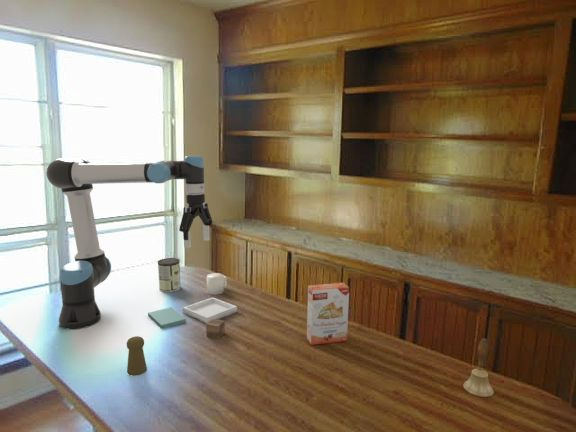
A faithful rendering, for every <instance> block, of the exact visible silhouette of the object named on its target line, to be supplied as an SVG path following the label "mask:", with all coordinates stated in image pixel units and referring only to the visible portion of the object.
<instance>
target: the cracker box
mask: <svg viewBox="0 0 576 432" xmlns="http://www.w3.org/2000/svg"><path fill="white" fill-rule="evenodd" d="M349 302H350V287H349V286H348V285H346V284H345V282H334V283H324V284H323V283H321V284H309V285H307V313H306V314H307V317H306V318H307V321H306V339H307V341H308V342H309V344H310V345H311V346H313V345H314V346H315V345H316V346H317V345H322V344H323V345H324V344H329V343H330V344H332V343H338V342H339V343H340V342H347V341H348V328H349V327H348V324H349V323H348V322H349V321H348V320H349V305H350V303H349Z"/></svg>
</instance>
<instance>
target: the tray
mask: <svg viewBox="0 0 576 432" xmlns="http://www.w3.org/2000/svg"><path fill="white" fill-rule="evenodd" d="M235 313H238V306H237V305H234V304H232V303H229V302H227V301H223V300H221V299H219V298H215V297H213V296H212V297H209V298H206V299H203V300H201V301H197V302H195V303H192V304H190V305H186V306H184V307H182V314H184V315H186V316H188V317H191V318H194V319H195V320H197V319H198V321H200V322H202V323H205V324H207V323H208V322H210V321H211V320H212V319H217V320H222V319H223V318H225V317H227V316H230V315H233V314H235Z"/></svg>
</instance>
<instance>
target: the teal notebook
mask: <svg viewBox="0 0 576 432" xmlns="http://www.w3.org/2000/svg"><path fill="white" fill-rule="evenodd" d="M147 317H148V318H149V319H150V320H151V321H153V322H154V323H155V324H156V325H157V327H159V328H160V329H161V330H162V329H166V328H169V327H174V326H178V325H180V324H181V323H182V324H185V323H186V322H187V319H186V318H185V317H184V316H183V315H182V314H180V313H179V312H178V311H176V309H174V308H172V307H166V308H162V309H159V310H153V311H150V312H147Z"/></svg>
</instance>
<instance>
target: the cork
mask: <svg viewBox="0 0 576 432" xmlns="http://www.w3.org/2000/svg"><path fill="white" fill-rule="evenodd" d="M144 345H145V340H144V338H143V337H142V336H139V335H138V336H132V337H130V338H128V340H127V341H126V348H127V349H128V353H127V354H128V357H127V358H128V359H127V366H126V367H127V368H126V369H127V370H126V373H128V374H129V375H128V374H127V375H128V376H131V375H132V376H133V377H137V376H141V375H144V374H145V373H146V372H147V371H148V367H147V362H146V356H145V353H144Z"/></svg>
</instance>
